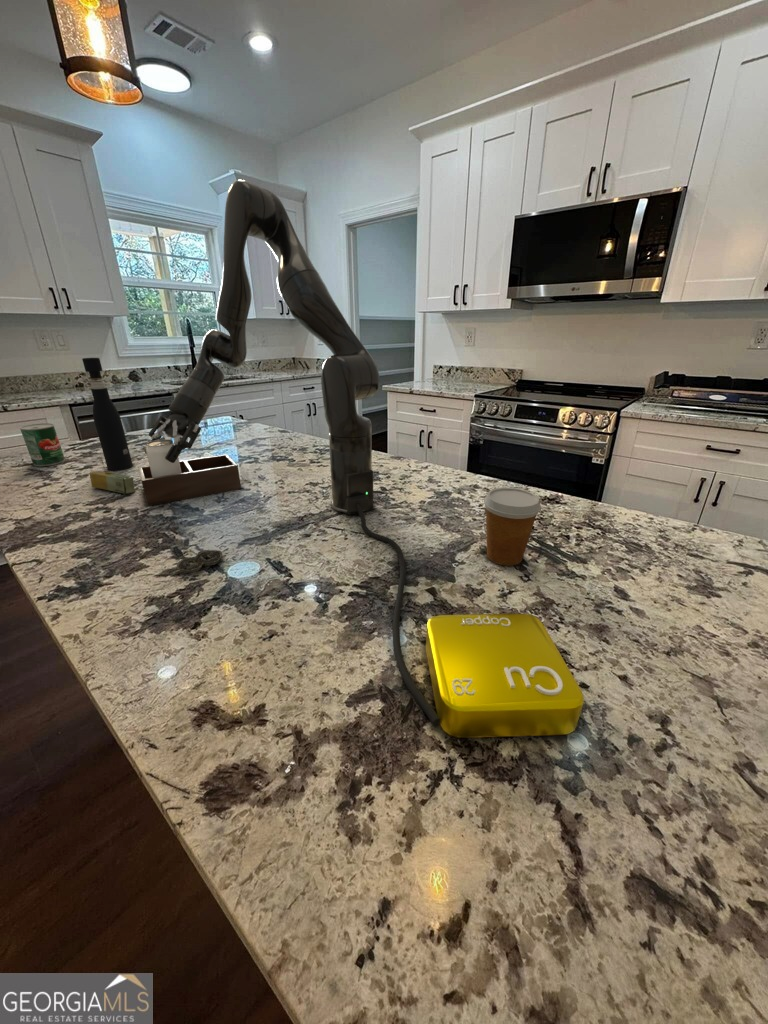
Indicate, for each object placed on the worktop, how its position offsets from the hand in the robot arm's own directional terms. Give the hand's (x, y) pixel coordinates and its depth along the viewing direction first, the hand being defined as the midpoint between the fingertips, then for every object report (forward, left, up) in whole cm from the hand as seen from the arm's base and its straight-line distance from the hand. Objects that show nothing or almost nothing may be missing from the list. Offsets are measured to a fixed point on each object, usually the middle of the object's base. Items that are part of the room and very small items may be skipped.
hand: (158, 458), depth 99 cm
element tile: (-85, -26, -10) cm, 89 cm away
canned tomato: (+46, +27, -10) cm, 55 cm away
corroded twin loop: (-39, -1, -10) cm, 40 cm away
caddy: (0, -6, -9) cm, 11 cm away
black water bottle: (+30, +9, -10) cm, 33 cm away
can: (+1, -1, -9) cm, 9 cm away
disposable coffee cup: (-65, -49, -10) cm, 82 cm away
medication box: (+10, +11, -10) cm, 18 cm away
